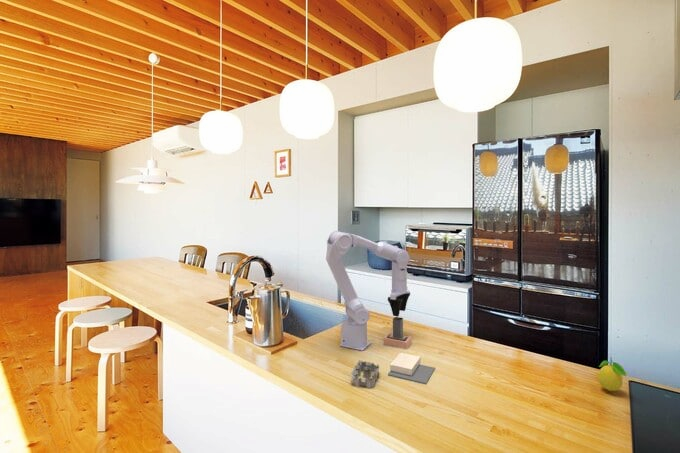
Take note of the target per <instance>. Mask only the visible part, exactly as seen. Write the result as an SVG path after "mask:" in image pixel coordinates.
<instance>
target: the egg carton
mask: <svg viewBox="0 0 680 453" xmlns="http://www.w3.org/2000/svg"><path fill="white" fill-rule="evenodd" d="M361 372H363V375H362V376H363V377H364V378H361V377H360V376H361ZM379 372H380V364H378V363H377V364H375V363H374V362H370V361H363V360H360V359H358V360H357V363H356V364H355V366H354V367H353V370H352V371H351V372H350V375H351V378H352V380H351V381H352V382H351V384H353V385H354V386H355V387H360V386H364V387H366V388H367V389H371V388H372V387H375V385H376V382H377V380H378V379H377V378H378V377H379ZM359 377H360V378H359Z"/></svg>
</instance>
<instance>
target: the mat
mask: <svg viewBox="0 0 680 453" xmlns="http://www.w3.org/2000/svg"><path fill="white" fill-rule="evenodd" d="M435 369H436V367H433V366H429V365H425V364H421V363H420V364H419V366H418V367H417V368H416V370H415V371H414V373H413V374H412V376H410V375H406V374H401V373H397V372H393V371H390V370H389V372H388V373H387V376H389V377H393V378H398V379H400V380H406V381H409V382H414V383H419V384H422V385H428V382H429V380H430V379H431V376H432V375H433V373H434V372H435Z"/></svg>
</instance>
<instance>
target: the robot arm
mask: <svg viewBox="0 0 680 453" xmlns="http://www.w3.org/2000/svg"><path fill="white" fill-rule="evenodd" d="M326 245H327V246H326V256H325V261H326V262H327V265H328V267H329V269H330V271H331V273H332V276H333V278H334V281H335V283H336V284H337V287H338V289H339V292H340V293H341V295H342V298H343V299H344V302H343V303H344V306H345V314H346V315H347V317H348V319H345V320H344V321H343V322H342V323H341V326H340V340H341V341H340V345H339V346H340V347H343V348H349V349H351V350H352V349H353V350H358V351H364V350H365V349H366V348H368V347H369V346H370V345H371V343H372V342H371V341H368V321H369V319H370V312H369V310H368V309H367V308H365V306H364V304H363V303H362V301H361V299H360V298H359V297H358V295H357V292H356V290H355V288H354V285H353V283H352V281H351V279H350V277H349V276H350V275H348V272H347V270H346V268H345V264H343V261H342V259H343V257H344V255H345V254H346V253H347V252H348V251H349V250H350V249H351V248H355V247H357V246H359V247H360V248H364V249H368V250H370V251H373V253H374V254H375V256H377V257H378V258H379V257H380V258H382V259H385V260H388V261H391V293H390V296H388V297H387V302H388V304H389V305H390V309H391V314H392V316H393V317H400V312H401V311H402V312H405V311H406V307H407V305H408V300H409V297H410V296H411V292H410V290H408V286H407V282H408V281H407V278H408V276H407V274H408V270H407V269H408V268H407V267H408V263H409V262H410V259H411V256H410V255H409V252H408V251H407V250H406V249H403V248H399V246H397V245H392V244H389V241H386V240H383V241H382V240H381V241H379V242H375V241H373V240H370V239H367V238H365V237H362V236H361V235H357V234H353V233H348V232H341V231H340V230H339V231H338V230H334V231H332V232H331V233H330V234H329V236H328V238H327V239H326Z"/></svg>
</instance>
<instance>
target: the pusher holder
mask: <svg viewBox="0 0 680 453" xmlns="http://www.w3.org/2000/svg"><path fill="white" fill-rule="evenodd" d="M391 334H393V332H392V333H391V332H388V333H387V334H386V335H385V336H384V337H383V338H382V342H383V343H382V345H384V346H387V347H392V348H398V349H403V350H407V349H408V348H409V347H410V346H411V344H412V336H408V335H406V336H407V340H406V341H400V340H395V339H389V336H390V335H391Z"/></svg>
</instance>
